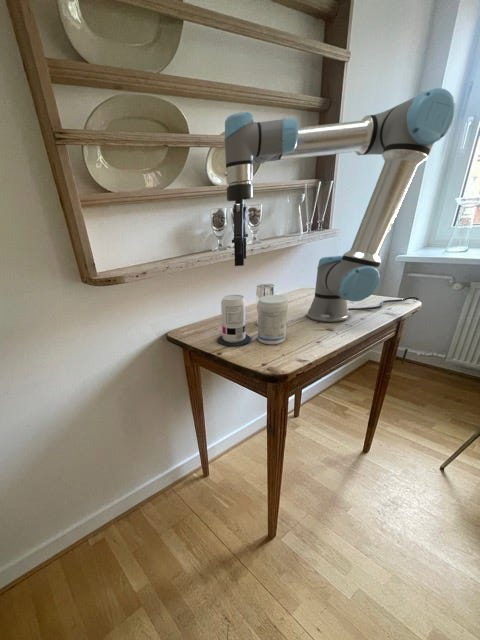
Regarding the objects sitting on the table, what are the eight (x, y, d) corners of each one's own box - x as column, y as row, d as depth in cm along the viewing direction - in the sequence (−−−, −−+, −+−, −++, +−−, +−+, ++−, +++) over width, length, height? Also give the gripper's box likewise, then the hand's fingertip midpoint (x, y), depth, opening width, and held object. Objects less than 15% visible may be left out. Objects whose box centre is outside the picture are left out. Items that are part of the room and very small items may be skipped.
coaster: (239, 331, 115) (240, 330, 115) (257, 341, 106) (257, 340, 105) (212, 338, 112) (212, 337, 112) (227, 349, 102) (227, 348, 102)
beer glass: (259, 320, 125) (260, 283, 118) (275, 321, 122) (277, 284, 114) (252, 325, 121) (253, 287, 113) (268, 327, 117) (270, 288, 109)
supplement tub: (259, 334, 111) (260, 294, 104) (285, 335, 108) (288, 294, 101) (255, 344, 103) (256, 302, 96) (284, 346, 100) (287, 302, 93)
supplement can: (217, 340, 109) (216, 298, 101) (232, 333, 114) (231, 293, 106) (235, 345, 104) (234, 301, 96) (249, 337, 108) (250, 295, 101)
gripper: (230, 188, 98) (232, 257, 109) (221, 183, 77) (225, 269, 88) (253, 185, 96) (253, 255, 107) (250, 179, 76) (251, 268, 86)
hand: (240, 262), depth 97 cm, fingers open, 13 cm apart
